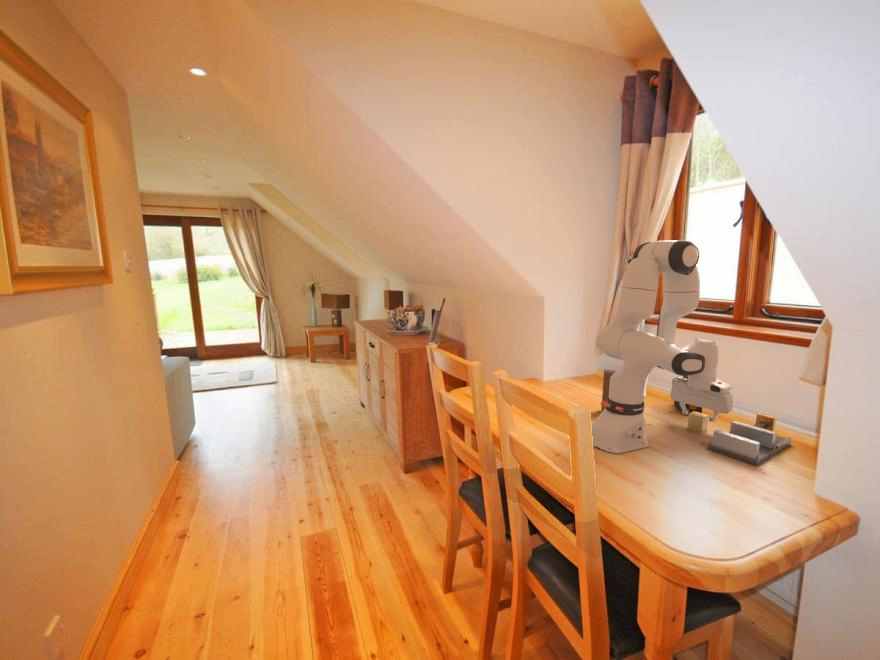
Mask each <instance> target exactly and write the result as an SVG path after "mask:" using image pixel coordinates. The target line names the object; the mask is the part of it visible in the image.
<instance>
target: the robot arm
mask: <svg viewBox="0 0 880 660" xmlns="http://www.w3.org/2000/svg"><path fill="white" fill-rule="evenodd" d="M631 258H632V260H630V262H629V263H628V266H627V267H626V271H625V272H624V273H625V274H624V277H623V282H622V285H621V292H620V295H619V296H620V297H619V301H618V306H617V309H616V312H615V315H614V316H613V318H612V320H611V321H610V322H609V323H608V324H607V325H606V326H605V327H604V328H601V329H600V331H598V333H597V335H596V338H595V347H596V350H598V351H599V352H600V353H601V354H604V355H605V356H608V357H610V358H613V359H616V360H621V361H623V365H622V368H621V370H618V371H616V372H615V373H614V374H613V375H612V376H611V378H610V386H609V396H608V398H607V400H606V402H605V401H602V400H601V402H600V406H601V408H602V407H605V409H604V410H603V412H602V413H600V414H599V415H598V416H597V418H596V419H595V420H594V421H593V422H592V424H591V426H592V436H593V446H592V447H593V448H596V447H595V446H597V447H599V448H600V449H599V450H601V449H603V450H602V451H604V450H605V452H607V453H610V452H611V454H616V455H617V454H618V453H619V454H623V453H627V452H631V451H636V450H640V449H641V450H642V449H644V448H645V449H646V448H648V447H650V443H649V441H647V421H646V419H645V417H644V414H643V413H644V411H645V401H644V397H643V396H644V388H645V382H646V379H647V376H648V375H650V373H651V371H653V370H654V368H658V369H662V370H665V371H667V372H668V373H669V372H670V373H672V374H674V375H677V377H673V378H672V380H671V389H670V395H669V397H670V399H671V400H672V401H673V402H674V401H678V402H680V406H681V408H682V412H681V414H683V415H689V413H688V410H689V409H686V407H685V404H690V405H693V406H697V407H701V408H702V409H706V410H708V411H713V414H714V415H711V416H708V422H710V423H715V422H716V420H717V417H718V416H719V415H720V414H724V415H728V414H730V413H731V412H732V411H733V407H734V406H733V405H734V401H733V400H734V399H733V394H732V393H731V392H730V391H731V390H732V385H730V384H729V383H727V382H725V381H723V380H721V379H720V378H717V376H718V374H717V367H718V365H719V348H718V347H719V346H718V344H717V343H716V342H715V341H714V340H713V341H712V340H710V339H705V338H693V340H692V341H691V342H689V343H688V344H686V345H684V346H681V347H678V346H677V345H676V343H675V337H676V331H677V324H678V322H679V320H680V319H681V318H683V317H686V316H688V315H690V314H691V313H693V312H695V310H696V309H697V308H698V305H699V303H700V294H701V291H700V290H701V286H700V285H701V283H700V274H699V272H700V271H699V268H698V262H699V259H700V250H699V248H698V247H697V245H696V244H695V243H694V241H691V240H685V239H679V240H666V239H664V240H657V241H648V242H644V243H641V244H640V245H638V246H636V248H635V250H634V251H633V253H632V257H631ZM661 274H663V276H664V281H663V299H662V304H661V308H660V309H659V310H660V311H659V312H658V313H659V314H658V315H659V316H658V321H657V328H656V329H657V330H656V334H654V333H651V332H646V331H640V330H637V329H638V328H639V326H640V324H641V322H643V321H644V320H646V319H649V318H651V317H652V316H653V314H654V313H655V307H656V303H657V298H658V297H657V296H658V291H659V283H660V276H661ZM679 376H680V377H679ZM683 376H688V379H685V378H683Z"/></svg>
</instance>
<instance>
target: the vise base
mask: <svg viewBox="0 0 880 660" xmlns="http://www.w3.org/2000/svg"><path fill="white" fill-rule="evenodd" d="M712 432H713V434H712V442H710V443H708V444H707V446H706V450H708V451H711V452H715V453H717V454H720V455H723V456H726V457H729V458H731V459H734V460H737V461H740V462H742V463H746V464H748V465H751V466H754V467H758V466H760V465H761V464H763V463H764V462H765V461H767V460H769V459H770V458H772V457H773V456H775V455H776V454H778V453H779V452H781V451H782V450H784V449H786V448H787V447H788V446H790V445H791V443H792V437H791V436H789V437H788V436H787V438H785V437H781V436H777V435H776V439H775V446H774V447H773V448H772V449H771V448H768V447H764V446H761V445H760V442H757V441H753V440H750V439H747V438H744V437H740V436H737V435H734V434H730V430H729V431H728V432H727V431H722V430H720V429H715V430H714V431H712Z"/></svg>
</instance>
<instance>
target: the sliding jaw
mask: <svg viewBox="0 0 880 660" xmlns="http://www.w3.org/2000/svg"><path fill="white" fill-rule="evenodd" d="M776 423H777V417H776V416H773V415H770V414H766V413H762V412H758V413H757V414H756V420H755V424H754V425H751V424H748V423H744V422H740V421H737V420H733V421H731V422H730V428H729V429H730V430H729V431H730V434H734V435H737V436H740V437H744V438H747V439H750V440H753V441H757V442H760V445H761V446H764V447H768V448H771V449H772V448H773V447H774V446H775V439H776V436H777V432H776Z"/></svg>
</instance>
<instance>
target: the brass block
mask: <svg viewBox="0 0 880 660" xmlns="http://www.w3.org/2000/svg"><path fill="white" fill-rule="evenodd" d="M708 422H709V414H707V413H703V412H702V413H699V412H696V411H693V412H691V413H688V419H687V429H688V430H691V431H695V432H698V433H704V432H706V431H708Z"/></svg>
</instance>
